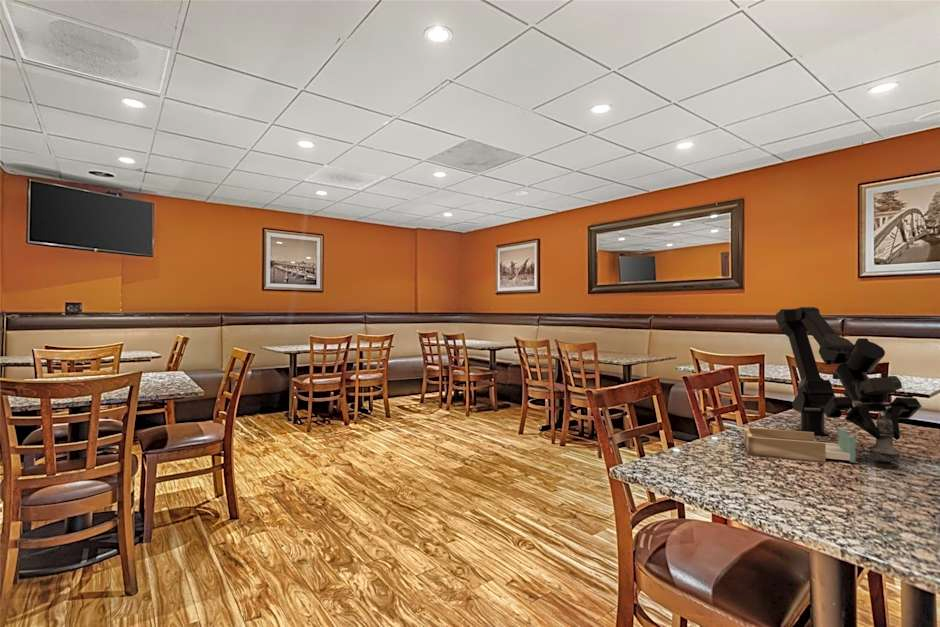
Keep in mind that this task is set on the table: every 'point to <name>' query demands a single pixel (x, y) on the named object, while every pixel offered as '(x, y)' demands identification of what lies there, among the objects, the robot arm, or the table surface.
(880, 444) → the grey tall tapered piece
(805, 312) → the robot arm
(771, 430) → the dock
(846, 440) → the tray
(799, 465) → the table surface
